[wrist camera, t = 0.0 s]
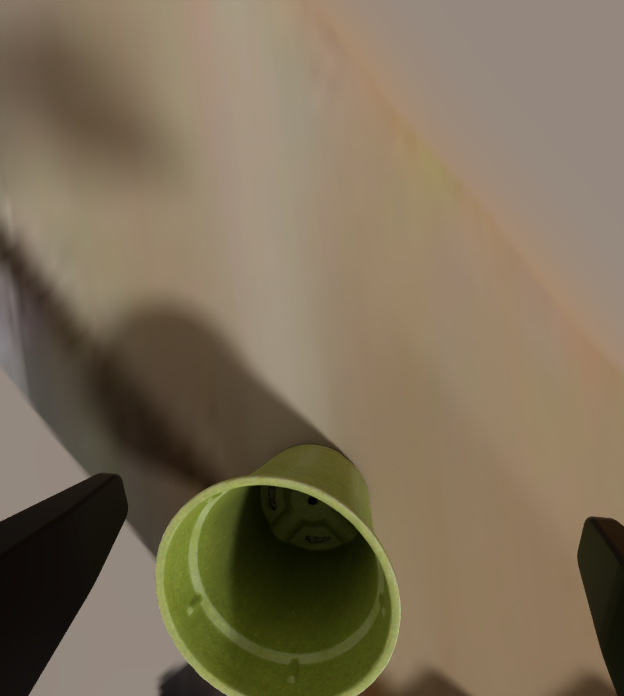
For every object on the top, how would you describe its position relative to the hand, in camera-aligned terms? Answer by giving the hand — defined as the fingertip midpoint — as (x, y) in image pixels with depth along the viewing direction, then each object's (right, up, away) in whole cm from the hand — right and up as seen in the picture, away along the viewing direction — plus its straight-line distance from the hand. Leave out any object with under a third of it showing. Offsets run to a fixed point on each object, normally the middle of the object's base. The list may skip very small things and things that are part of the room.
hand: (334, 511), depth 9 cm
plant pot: (0, -5, +17) cm, 17 cm away
